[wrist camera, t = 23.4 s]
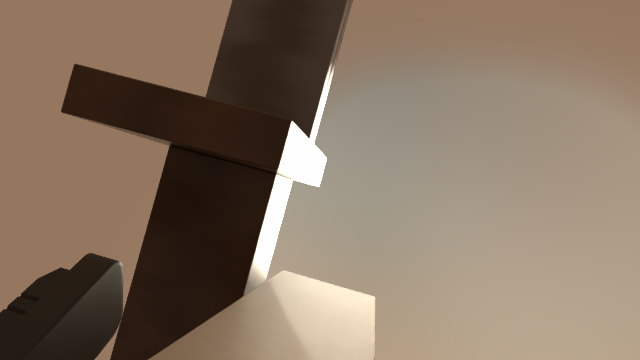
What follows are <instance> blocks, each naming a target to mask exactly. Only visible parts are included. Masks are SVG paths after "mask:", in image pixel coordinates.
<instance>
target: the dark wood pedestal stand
mask: <svg viewBox="0 0 640 360" xmlns="http://www.w3.org/2000/svg"><path fill="white" fill-rule="evenodd" d="M352 2H353V0H232V4H231V8H230V11H229V15H228V19H227V22H226V26H225V30H224V33H223V37H222V40H221V44H220V48H219V51H218V54H217V58H216V62H215V65H214V69H213V73H212V76H211V80H210V83H209V87H208V90H207V94H206V97H202V96H199V95H194V94H191V93H186V92H183V91H179V90H175V89H171V88H167V87H164V86H160V85H156V84H152V83H148V82H144V81H140V80H137V79H132V78H128V77H124V76H121V75H117V74H113V73H109V72H106V71H101V70H98V69H94V68H90V67H86V66H82V65H78V64H75V65H74V68H73V71H72V74H71V78H70V81H69V85H68V88H67V92H66V95H65V99H64V102H63V106H62V110H61V112H62V113H65V114H68V115H72V116H75V117H78V118H81V119H85V120H88V121H91V122H94V123H98V124H101V125H104V126H108V127H111V128H114V129H117V130H120V131H124V132H127V133H130V134H133V135H137V136H140V137H143V138H146V139H150V140H153V141H156V142H159V143H163V144H166V145H169V150H168V154H167V157H166V161H165V165H164V168H163V172H162V176H161V179H160V183H159V186H158V190H157V194H156V197H155V200H154V204H153V208H152V211H151V215H150V218H149V222H148V225H147V230H146V233H145V236H144V240H143V244H142V247H141V251H140V254H139V258H138V262H137V265H136V269H135V273H134V276H133V279H132V283H131V287H130V291H129V294H128V297H127V301H126V305H125V308H124V312H123V315H122V319H121V322H120V326H119V330H118V333H117V337H116V340H115V344H114V348H113V351H112V355H111V359H110V360H148V359H150V358H151V357H153V356H154V355H156V354H157V353H159V352H161V351H162V350H164V349H165V348H167V347H168V346H170V345H171V344H173V343H174V342H176V341H177V340H179V339H180V338H182V337H183V336H185V335H186V334H188V333H189V332H191V331H192V330H194V329H195V328H197V327H198V326H200V325H201V324H203V323H204V322H206V321H207V320H209V319H210V318H212V317H213V316H215V315H216V314H218V313H219V312H221V311H222V310H224V309H226V308H227V307H229V306H230V305H232V304H233V303H235V302H236V301H238V300H239V299H241V298H242V297H244V296H245V295H247V294H248V293H250V292H251V291H253V290H254V289H256V288H257V287H259V286H260V285H262V284H263V283H265V280H266V277H267V273H268V269H269V266H270V262H271V259H272V255H273V251H274V247H275V244H276V240H277V236H278V233H279V229H280V225H281V222H282V218H283V214H284V211H285V207H286V203H287V200H288V196H289V192H290V189H291V185H292V181H293V180H295V181H299V182H303V183H306V184H310V185H314V186H319V185H320V182H321V178H322V174H323V171H324V167H325V163H326V160H327V158H326V157H325V156H324V155H323V153H322V152H321V151H320V150H319V149H318V148H317V147H316V146H315V145H314V142H315V138H316V135H317V131H318V127H319V123H320V119H321V116H322V112H323V109H324V105H325V101H326V97H327V94H328V90H329V87H330V83H331V79H332V76H333V72H334V68H335V65H336V60H337V57H338V53H339V50H340V46H341V43H342V39H343V35H344V32H345V28H346V24H347V20H348V17H349V13H350V9H351V6H352Z"/></svg>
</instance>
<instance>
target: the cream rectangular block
mask: <svg viewBox="0 0 640 360" xmlns="http://www.w3.org/2000/svg"><path fill="white" fill-rule="evenodd" d="M148 360H375V297H374V296H370V295H367V294H364V293H360V292H357V291H353V290H350V289H346V288H343V287H339V286H336V285H332V284H329V283H326V282H322V281H318V280H315V279H312V278H308V277H305V276H301V275H298V274H294V273H291V272H287V271H281V272H280V273H278V274H277V275H275V276H274V277H272V278H271V279H269V280H268V281H266V282H265V283H263V284H262V285H260V286H259V287H257V288H256V289H254V290H253V291H251V292H250V293H248V294H247V295H245V296H244V297H242V298H241V299H239V300H238V301H236V302H235V303H233V304H232V305H230V306H229V307H227V308H226V309H224V310H222V311H221V312H219V313H218V314H216V315H215V316H213V317H212V318H210V319H209V320H207V321H206V322H204V323H203V324H201V325H200V326H198V327H197V328H195V329H194V330H192V331H191V332H189V333H188V334H186V335H185V336H183V337H182V338H180V339H179V340H177V341H176V342H174V343H173V344H171V345H170V346H168V347H167V348H165V349H164V350H162V351H161V352H159V353H157V354H156V355H154V356H153V357H151V358H150V359H148Z"/></svg>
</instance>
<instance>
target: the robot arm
mask: <svg viewBox="0 0 640 360" xmlns="http://www.w3.org/2000/svg"><path fill="white" fill-rule="evenodd" d="M122 312H123V264H122V263H121V262H120V261H116V260H113V259H110V258H106V257H103V256H99V255H96V254H93V253H89V254H87V255H85V256H84V257H83V258H82V259H81V260H80V261H79V262H78V263H77V264H76V265H75V266H74V267H73V268H72V269H70V270H67V269H63V268H59V269H57V270H55V271H53V272H51V273H48V274H46V275H44V276H42V277H40V278H38V279H37V280H36V281H35V282H34V283H33V284H31V285H30V286H29V287H28V288H27V289H26V290H25V291H24V292H23V293H22V294H21V296H20V297H17V298H16V299H15V300H14V301H13V302H12V303H10V304H9V305H8V307H7V309H6V310H5V309H4V310H3V311H2V312H1V313H0V360H95V359H96V357H97V356H98V355H99V353H100V352H101V351H102V349H103V348H104V347H105V346H106V344H107V343H108V342H109V341H110V339H111V338H112V337H113V335H114V334H115V332H116V330H117V328H118V326H119V324H120V321H121V317H122Z"/></svg>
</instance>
